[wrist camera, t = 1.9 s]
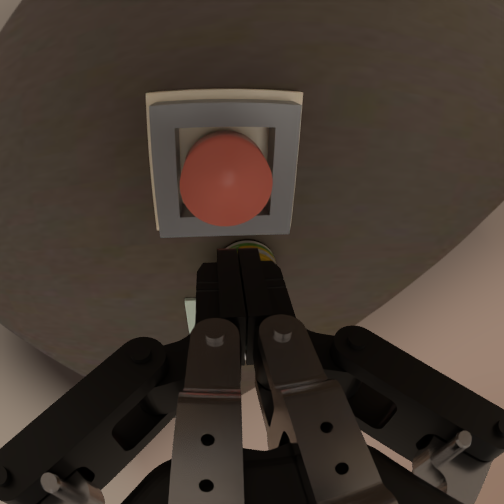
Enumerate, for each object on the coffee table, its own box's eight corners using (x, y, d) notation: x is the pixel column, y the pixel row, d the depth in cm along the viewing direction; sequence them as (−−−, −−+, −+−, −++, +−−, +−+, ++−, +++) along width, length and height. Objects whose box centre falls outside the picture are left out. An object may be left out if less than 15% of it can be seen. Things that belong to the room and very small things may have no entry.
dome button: (182, 131, 19) (177, 142, 16) (267, 130, 20) (275, 141, 17) (185, 207, 22) (182, 227, 20) (262, 205, 23) (269, 225, 20)
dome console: (149, 92, 19) (137, 96, 16) (298, 91, 21) (313, 95, 18) (159, 223, 26) (152, 246, 23) (287, 219, 27) (297, 241, 24)
